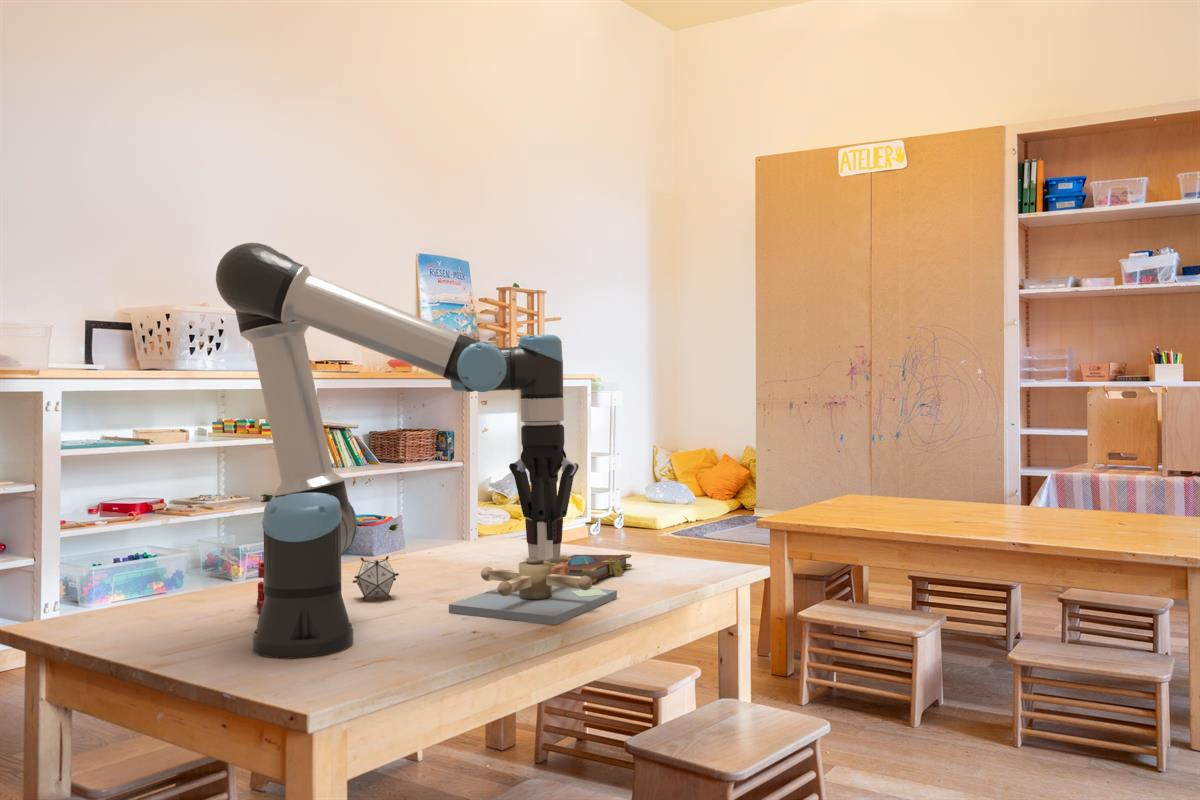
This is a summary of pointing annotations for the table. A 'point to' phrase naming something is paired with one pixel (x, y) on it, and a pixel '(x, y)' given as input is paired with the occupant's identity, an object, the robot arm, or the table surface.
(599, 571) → the book
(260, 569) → the toy fire truck
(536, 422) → the robot arm
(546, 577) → the capstan
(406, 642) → the table surface
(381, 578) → the game die
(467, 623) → the table surface
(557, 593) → the plate
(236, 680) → the table surface
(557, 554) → the coffee cup
